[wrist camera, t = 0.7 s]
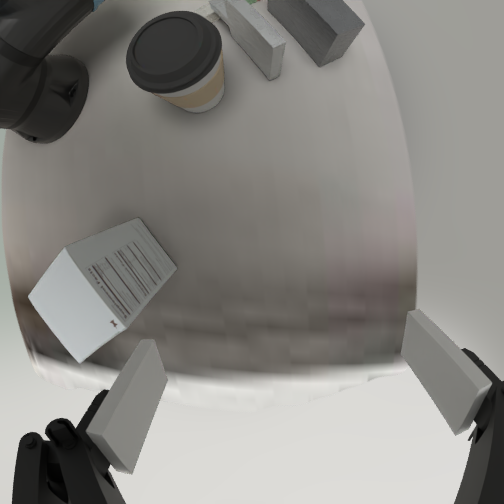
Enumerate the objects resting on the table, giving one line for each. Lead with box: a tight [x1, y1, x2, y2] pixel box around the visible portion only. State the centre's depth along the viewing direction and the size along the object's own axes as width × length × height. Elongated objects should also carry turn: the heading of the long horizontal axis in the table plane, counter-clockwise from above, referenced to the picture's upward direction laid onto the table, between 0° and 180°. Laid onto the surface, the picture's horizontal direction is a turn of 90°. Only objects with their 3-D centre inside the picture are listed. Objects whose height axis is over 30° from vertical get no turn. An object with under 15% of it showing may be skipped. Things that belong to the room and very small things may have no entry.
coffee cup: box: [126, 11, 225, 113], centre depth 25 cm, size 9×9×15 cm
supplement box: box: [28, 218, 177, 363], centre depth 30 cm, size 10×9×17 cm
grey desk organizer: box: [194, 0, 365, 67], centre depth 24 cm, size 17×13×10 cm
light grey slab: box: [209, 0, 286, 81], centre depth 25 cm, size 14×2×10 cm, turn 34°
